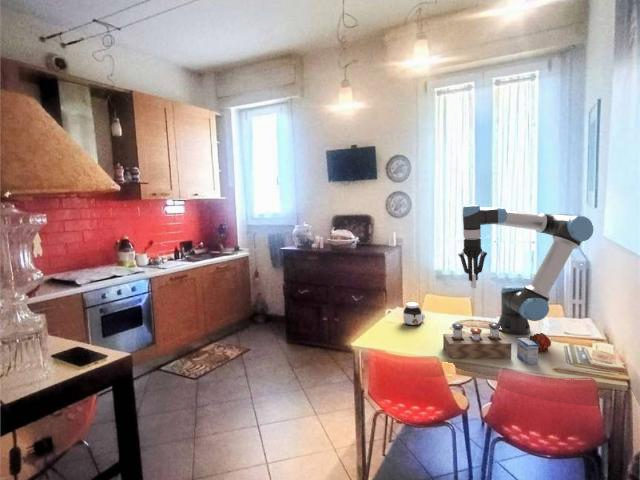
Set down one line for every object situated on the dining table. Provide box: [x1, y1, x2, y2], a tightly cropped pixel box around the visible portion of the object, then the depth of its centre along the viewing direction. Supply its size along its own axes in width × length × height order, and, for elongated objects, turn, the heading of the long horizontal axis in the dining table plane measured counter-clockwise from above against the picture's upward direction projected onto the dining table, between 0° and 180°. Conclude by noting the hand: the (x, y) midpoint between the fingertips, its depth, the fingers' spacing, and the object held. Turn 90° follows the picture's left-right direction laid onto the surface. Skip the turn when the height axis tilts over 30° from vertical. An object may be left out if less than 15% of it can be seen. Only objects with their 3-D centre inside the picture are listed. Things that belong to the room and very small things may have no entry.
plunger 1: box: [451, 322, 464, 341], centre depth 172 cm, size 5×5×9 cm
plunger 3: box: [488, 322, 500, 341], centre depth 171 cm, size 5×5×9 cm
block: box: [442, 332, 512, 360], centre depth 172 cm, size 26×12×7 cm, turn 85°
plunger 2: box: [470, 327, 482, 341], centre depth 172 cm, size 5×5×9 cm
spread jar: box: [402, 301, 426, 327], centre depth 215 cm, size 12×11×12 cm
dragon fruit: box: [528, 332, 552, 353], centre depth 173 cm, size 8×8×12 cm
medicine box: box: [516, 337, 539, 366], centre depth 163 cm, size 8×4×9 cm, turn 5°
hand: (473, 287), depth 182 cm, fingers closed
